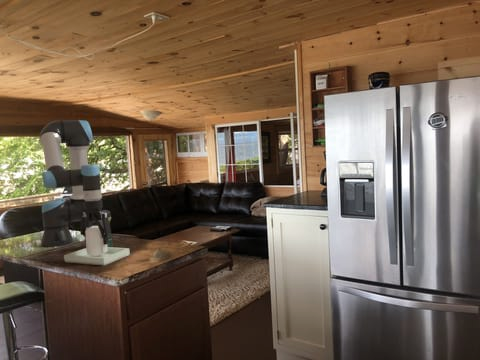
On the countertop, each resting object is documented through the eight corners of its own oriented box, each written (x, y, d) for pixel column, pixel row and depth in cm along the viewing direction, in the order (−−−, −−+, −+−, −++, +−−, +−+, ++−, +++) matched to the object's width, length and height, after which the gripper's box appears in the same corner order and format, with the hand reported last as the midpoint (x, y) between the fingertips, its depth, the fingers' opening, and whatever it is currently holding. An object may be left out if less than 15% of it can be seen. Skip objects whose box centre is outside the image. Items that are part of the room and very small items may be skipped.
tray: (64, 262, 168) (64, 255, 168) (92, 252, 183) (91, 246, 183) (104, 265, 159) (103, 258, 159) (129, 255, 174) (129, 248, 174)
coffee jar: (96, 251, 184) (93, 212, 183) (89, 249, 190) (86, 211, 189) (115, 247, 191) (112, 209, 190) (108, 244, 197) (105, 208, 195)
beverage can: (98, 256, 166) (96, 229, 165) (83, 256, 169) (80, 228, 168) (110, 251, 173) (108, 225, 172) (96, 251, 176) (94, 225, 175)
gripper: (68, 201, 170) (72, 252, 172) (105, 201, 161) (109, 254, 163) (81, 198, 177) (85, 247, 178) (117, 198, 168) (121, 250, 170)
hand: (97, 251), depth 171 cm, fingers closed on beverage can, 8 cm apart
